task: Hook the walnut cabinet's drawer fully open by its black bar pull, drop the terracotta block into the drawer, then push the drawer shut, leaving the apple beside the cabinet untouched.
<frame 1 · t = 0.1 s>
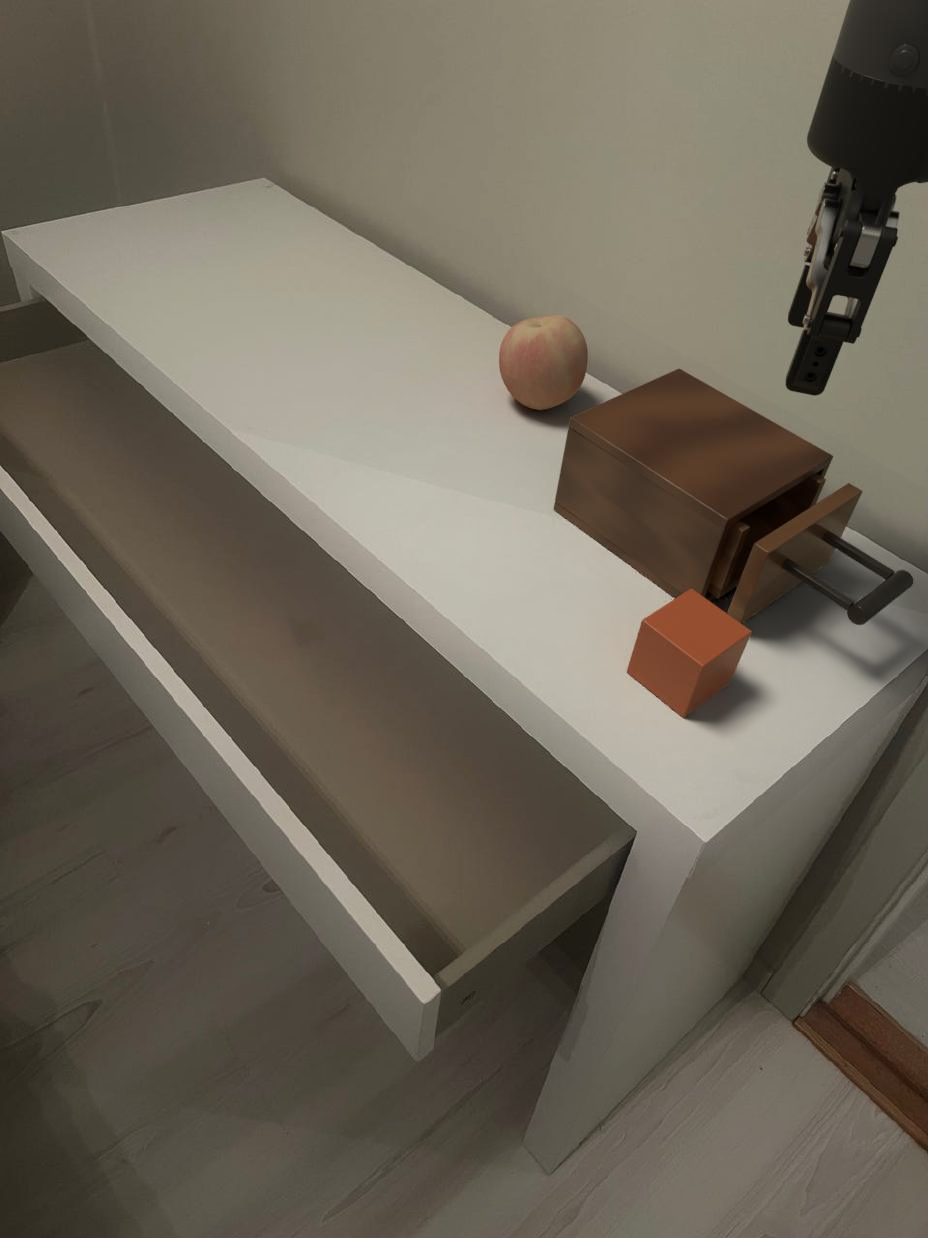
hand: (802, 355, 57), 18 cm above the table, tool pointing down, fingers open, 8 cm apart
cabinet: (673, 527, 74), on the table
block: (678, 677, 62), on the table
drawer: (762, 532, 67), point 4 cm above the table, slide at 2.0 cm
apple: (537, 403, 86), on the table
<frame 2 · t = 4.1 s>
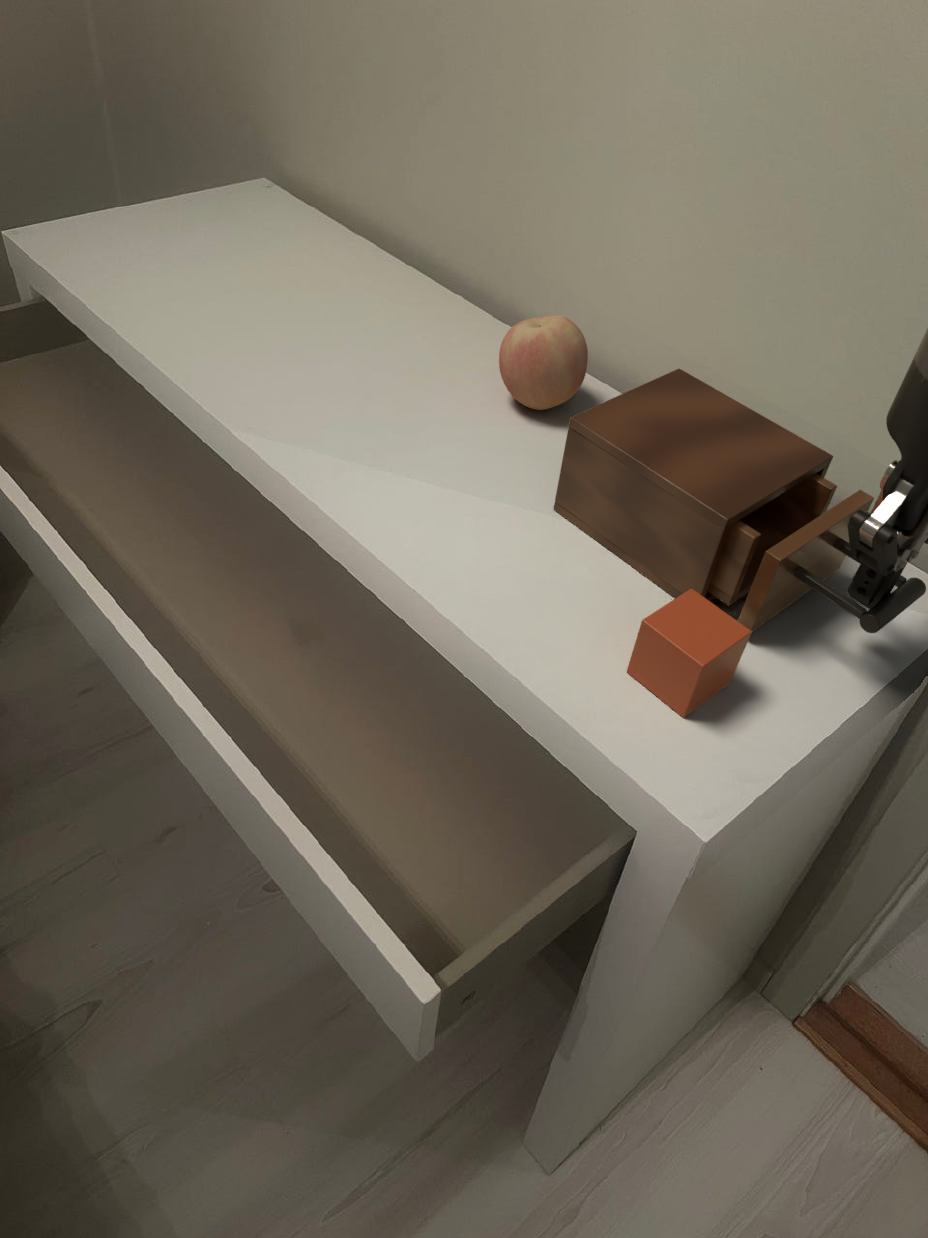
hand: (865, 598, 63), 4 cm above the table, tool pointing down, fingers closed
drawer: (772, 539, 67), point 4 cm above the table, slide at 3.0 cm, touching gripper
everything else where it was.
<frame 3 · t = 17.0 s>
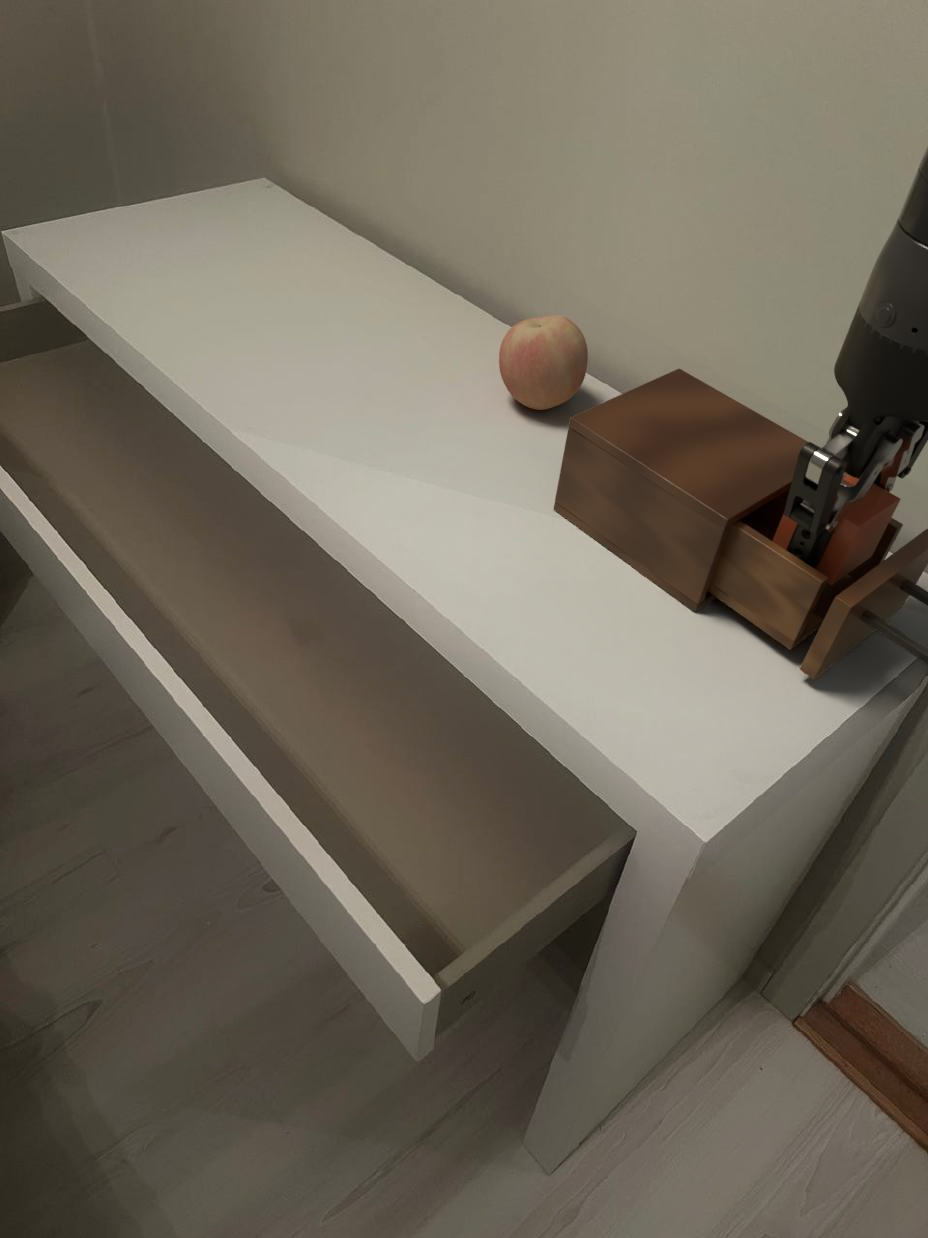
hand: (823, 546, 64), 6 cm above the table, tool pointing down, fingers closed on block, 5 cm apart
block: (821, 551, 64), point 6 cm above the table, touching gripper
drawer: (835, 580, 64), point 4 cm above the table, slide at 8.2 cm
everything else where it was.
when the fingers open (9 cm above the table, at t = 35.9 s): block drops 6 cm, resting on drawer.
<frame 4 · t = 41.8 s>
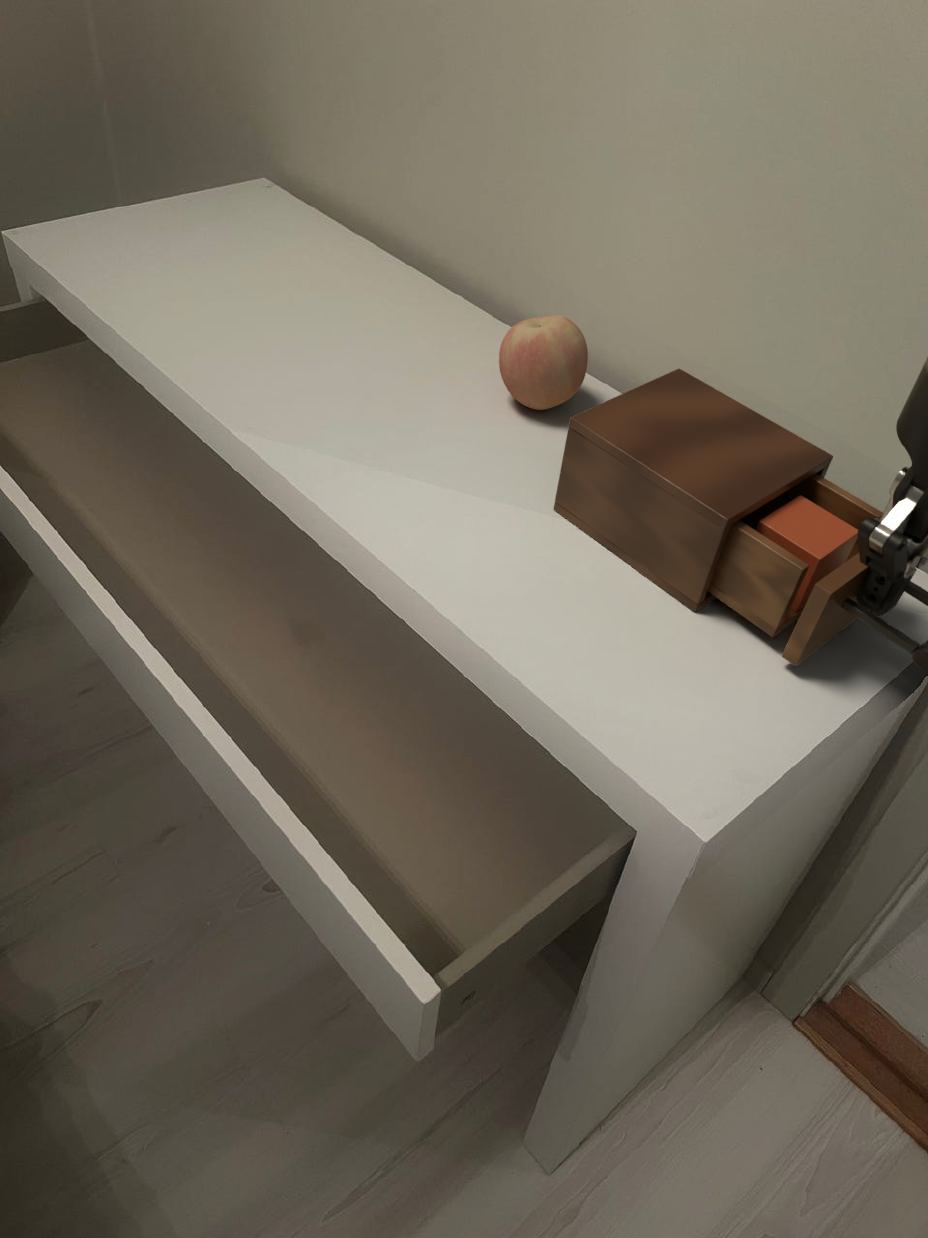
hand: (874, 604, 63), 4 cm above the table, tool pointing down, fingers closed
block: (786, 579, 67), point 2 cm above the table, touching drawer
drawer: (817, 568, 65), point 4 cm above the table, slide at 6.8 cm, touching block
everything else where it was.
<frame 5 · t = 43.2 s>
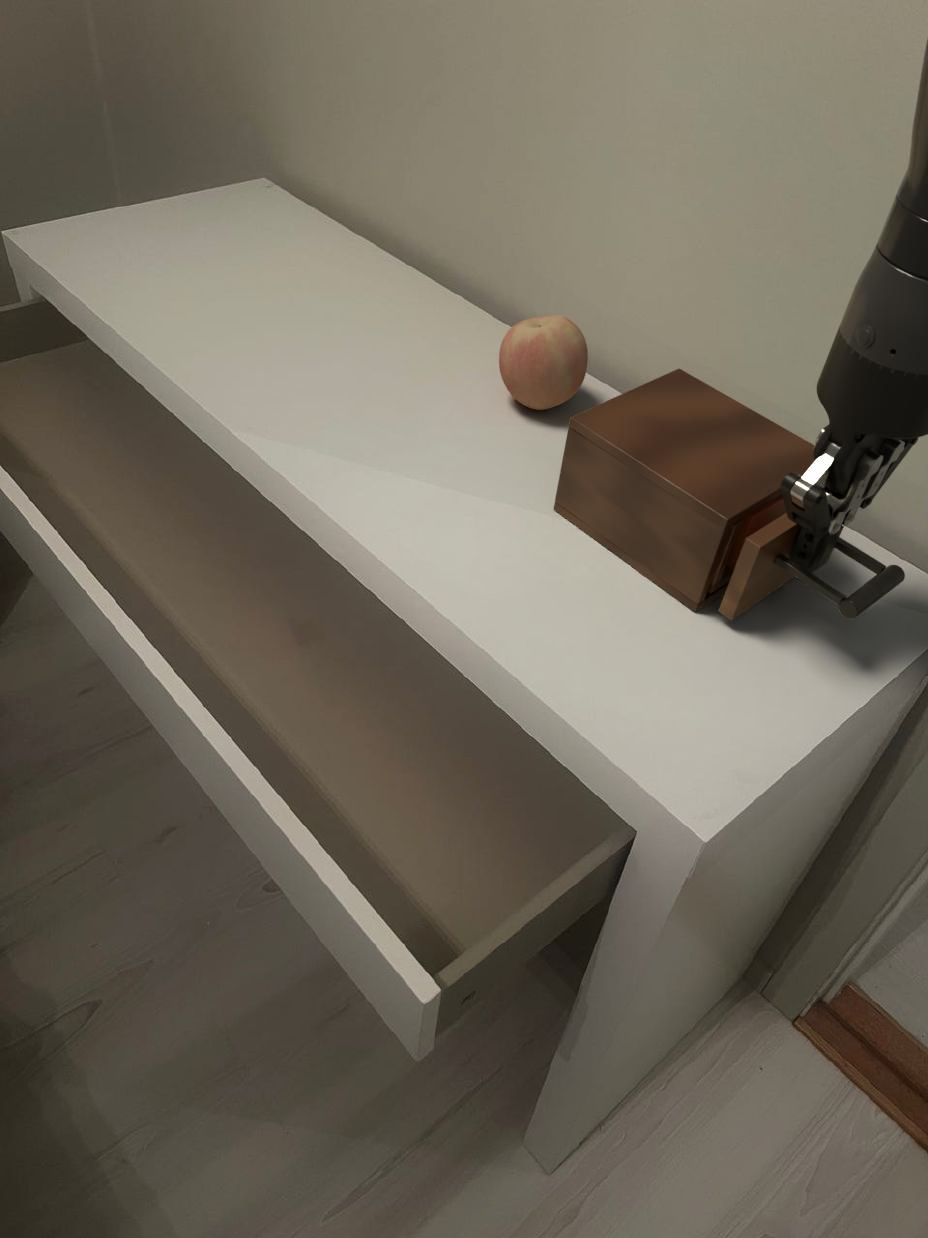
hand: (806, 562, 65), 4 cm above the table, tool pointing down, fingers closed
block: (727, 539, 70), point 2 cm above the table, touching drawer
drawer: (754, 528, 68), point 4 cm above the table, slide at 1.3 cm, touching block, gripper
everything else where it was.
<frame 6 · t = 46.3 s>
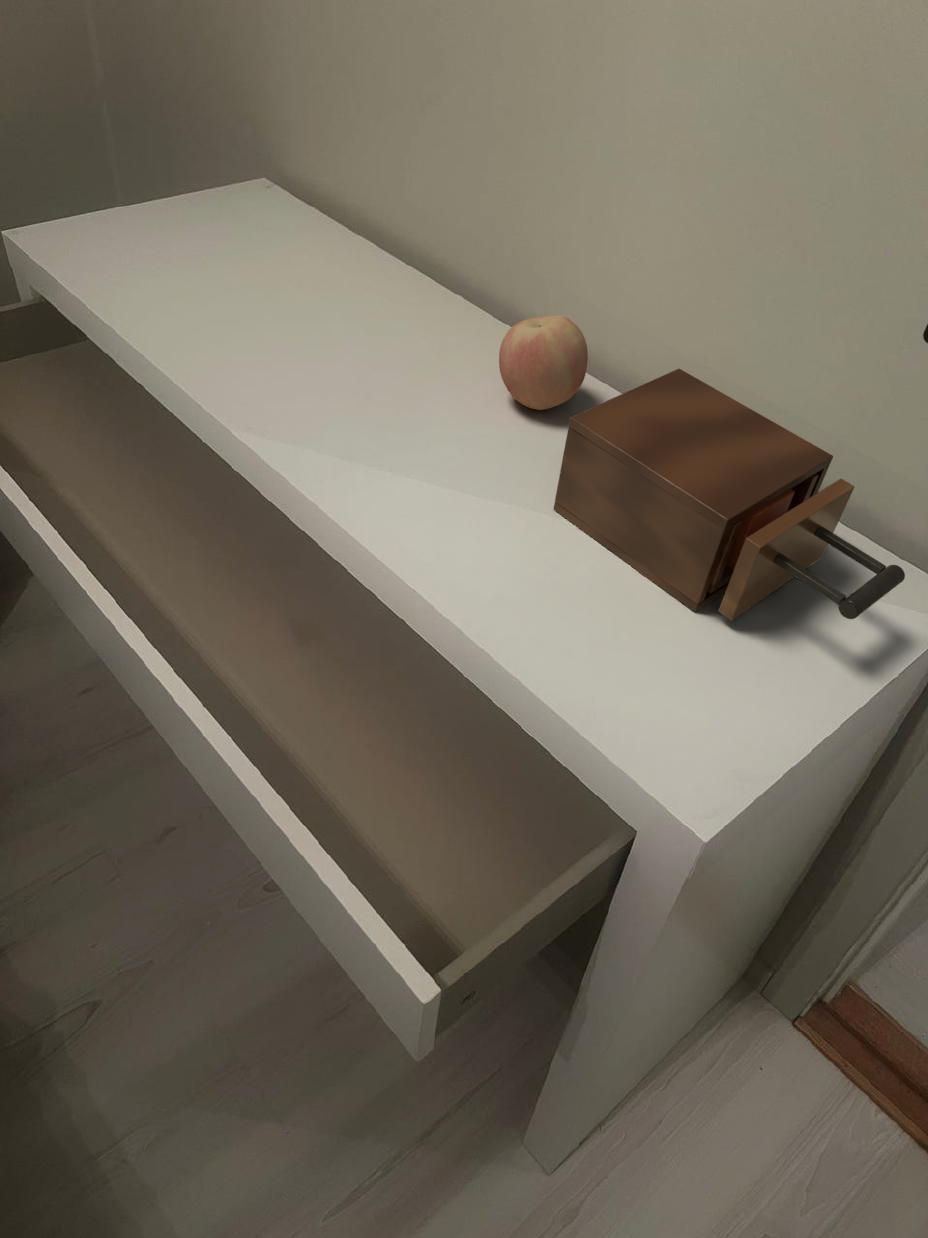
drawer: (754, 528, 68), point 4 cm above the table, slide at 1.3 cm, touching block
everything else where it was.
at the end: block inside the target area in the cabinet (4.7 cm from its centre), point 2.0 cm above the cabinet's base; drawer slide at 1.3 cm; apple moved 0.2 cm from its start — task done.
